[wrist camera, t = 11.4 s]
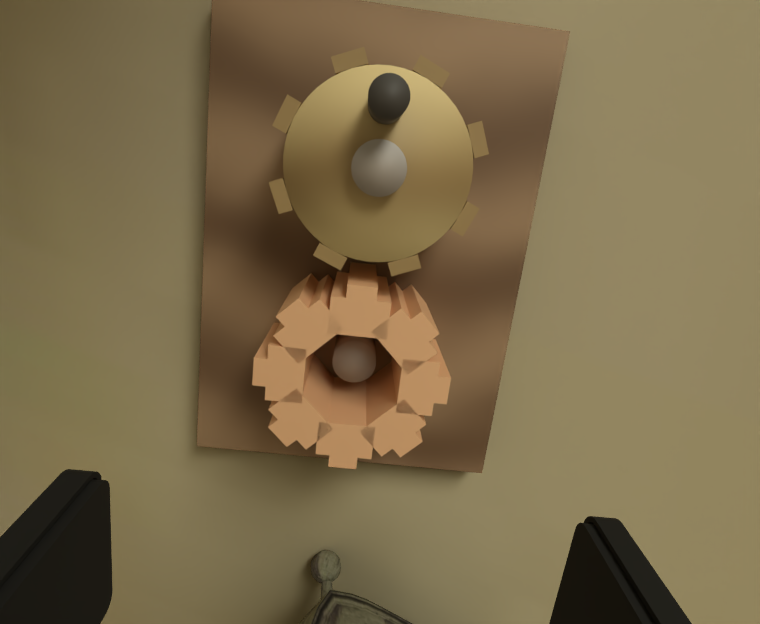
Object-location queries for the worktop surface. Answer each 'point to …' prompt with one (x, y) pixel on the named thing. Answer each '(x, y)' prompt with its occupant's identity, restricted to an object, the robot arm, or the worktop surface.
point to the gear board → (287, 246)
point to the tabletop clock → (342, 599)
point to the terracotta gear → (342, 398)
